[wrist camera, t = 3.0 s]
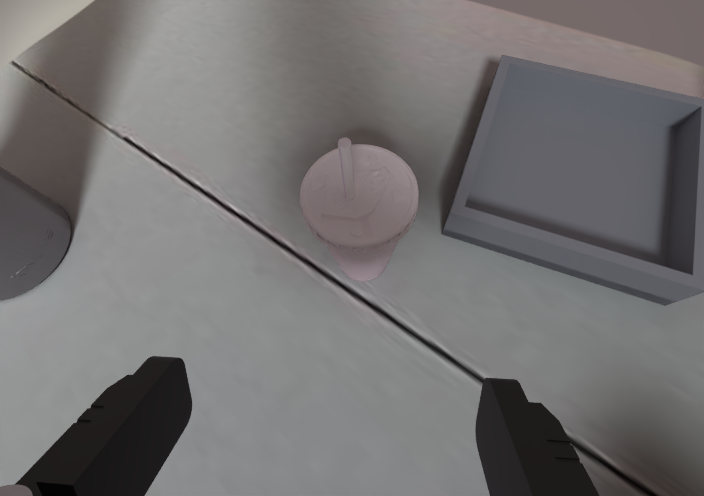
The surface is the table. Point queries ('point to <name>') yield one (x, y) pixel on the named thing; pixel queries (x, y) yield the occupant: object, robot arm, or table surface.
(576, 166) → the tray
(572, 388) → the table surface
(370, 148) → the smoothie
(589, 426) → the table surface
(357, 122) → the table surface
